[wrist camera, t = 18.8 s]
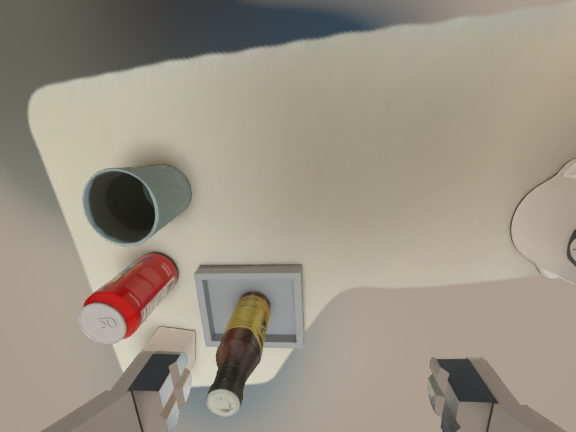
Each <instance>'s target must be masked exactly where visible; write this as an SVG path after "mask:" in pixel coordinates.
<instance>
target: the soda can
mask: <svg viewBox="0 0 576 432" xmlns="http://www.w3.org/2000/svg"><path fill="white" fill-rule="evenodd" d="M176 282H177V270H176V268H175V266H174V264H173V263H172V262H171V261H170V260H169V259H168V258H166V257H165V256H163V255H160V254H155V253H150V254H146V255H144V256H142V257H140V258H139V259H138V260H136V261H135V262H134V263H132V264H131V265H130V266H128V267H127V268H126V269H125V270H123V271H122V272H121V273H119V274H118V275H117V276H115V277H114V278H113V279H111V280H110V281H109V282H107V283H106V284H105V285H104V286H102V287H101V288H100V289H98V290H97V291H96V292H94V293H93V294H92V295H91V296H90V297H89V298H88V299H87V300H86V301H85V303H84V306H83V309H82V310H81V312H80V313H79V324H80V327H81V329H82V330H83V332H84V333H85V334H86V335H87V336H88V337H89V338H90V339H92V340H94V341H96V342H98V343H101V344H115V343H117V342H119V341H120V340H123V339H126V338H128V337H130V336H131V335H132V334H133V333H134V332H135V331H136V330H137V329H138V328H139V327H140V325H141V324H142V323H143V322H144V321H145V320H146V319H147V317H148V316H149V315H150V314H151V313H152V312H153V310H154V309H155V308H156V307H157V306H158V305H159V303H160V302H161V301H162V300H163V299H164V298H165V296H166V295H167V294H168V293H169V292H170V291H171V289H172V288H173V287H174V286H175V284H176Z"/></svg>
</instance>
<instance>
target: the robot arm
mask: <svg viewBox="0 0 576 432" xmlns="http://www.w3.org/2000/svg"><path fill="white" fill-rule="evenodd" d="M511 234H512V239H513V242H514V245H515V247H516V248H517V250H518V251H519V252H520V253H521V254H522V255H523V256H524V257H526V258H527V259H529V260H531V261H532V262H534V263H535V264H536V266H537V268H538V270H539V271H540V273H541V274H542V275H543V276H545V277H547V278H550V279H556V278H562V279H564V280H566V281H568V282H570V283H572V284H574V285H576V159H573V160H571V161H569V162H568V163H567V164H566V165H565V166H564V167H563V168H562V169H561V170H560V171H559V172H558V173H557V175H556V176H554V177H553V178H551V179H550V180H548V181H546V182H544V183H543V184H541V185H539V186H538V187H536V188H535V189H534V190H533V191H531V192H530V193H529V194H528V195H527V196H526V197H525V198H524V200H523V201H522V202H521V203H520V205H519V206H518V208H517V210H516V212H515V214H514V217H513V221H512V226H511ZM187 363H188V357H187V353H184V352H170V351H142V352H140V353H139V354H138V355H137V356H136V358H135V359H134V360H133V362H132V363H131V364H130V365H129V367H128V368H127V369H126V371H125V372H124V373H123V375H122V376H121V377H120V379H119V380H118V381H117V382H116V384H115V385H114V386H113V388H112V389H111V390H110V391H104V392H103V393H101V394H100V395H98V396H96V397H95V398H93V399H92V400H90V401H88V402H87V403H85V404H84V405H82V406H80V407H79V408H77V409H76V410H74V411H73V412H71V413H69V414H68V415H66V416H65V417H63V418H62V419H60V420H58V421H57V422H55V423H54V424H52V425H50V426H49V427H47V428H46V429H44V430H43V431H41V432H172V431H173V429H174V427H175V424H176V422H177V420H178V418H179V412H178V409H179V408H180V407H181V406H182V405H184V404H185V403H186V400H187V398H188V396H189V393H190V388H191V372H190V371H189V370H188V369H187V368H186V365H187ZM430 369H431V371H432V373H433V374H432V375H431V376H430V377H429V378H428V386H427V387H428V395H429V399H430V403H431V405H432V408H433V410H434V412H435V413H436V414H437V415H438V416H439V417H441V419H442V420H441V429H442V431H443V432H567V431H565V430H564V429H562V428H561V427H559V426H557V425H556V424H554V423H553V422H551V421H550V420H548V419H547V418H545V417H544V416H542V415H541V414H539V413H538V412H536V411H535V410H533V409H531V408H530V407H528V406H527V405H520V404H519V402H518V401H517V400H516V398H515V397H514V396H513V394H512V393H511V392H510V391H509V389H508V388H507V387H506V385H505V384H504V383H503V381H502V380H501V379H500V377H499V376H498V375H497V373H496V372H495V371H494V370H493V368H492V367H491V366H490V364H489V363H488V362H487V360H485V359H484V358H483V357H480V358H479V357H465V358H463V357H461V358H460V357H432V359H431V360H430Z"/></svg>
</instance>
